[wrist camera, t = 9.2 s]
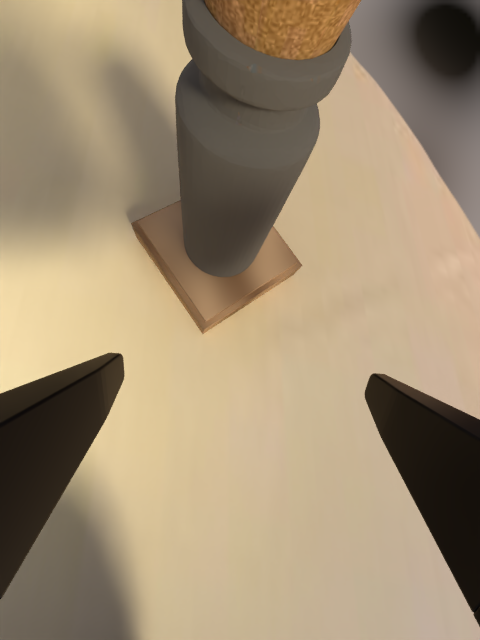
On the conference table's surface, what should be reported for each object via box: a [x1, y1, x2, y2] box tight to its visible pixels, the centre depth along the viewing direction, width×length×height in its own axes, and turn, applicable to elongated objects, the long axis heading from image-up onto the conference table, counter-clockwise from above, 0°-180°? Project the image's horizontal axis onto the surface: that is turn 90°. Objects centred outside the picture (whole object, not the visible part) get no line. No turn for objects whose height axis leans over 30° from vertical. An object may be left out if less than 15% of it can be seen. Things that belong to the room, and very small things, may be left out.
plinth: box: [131, 200, 302, 333], centre depth 21 cm, size 10×10×2 cm
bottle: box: [175, 0, 361, 277], centre depth 13 cm, size 6×6×15 cm
